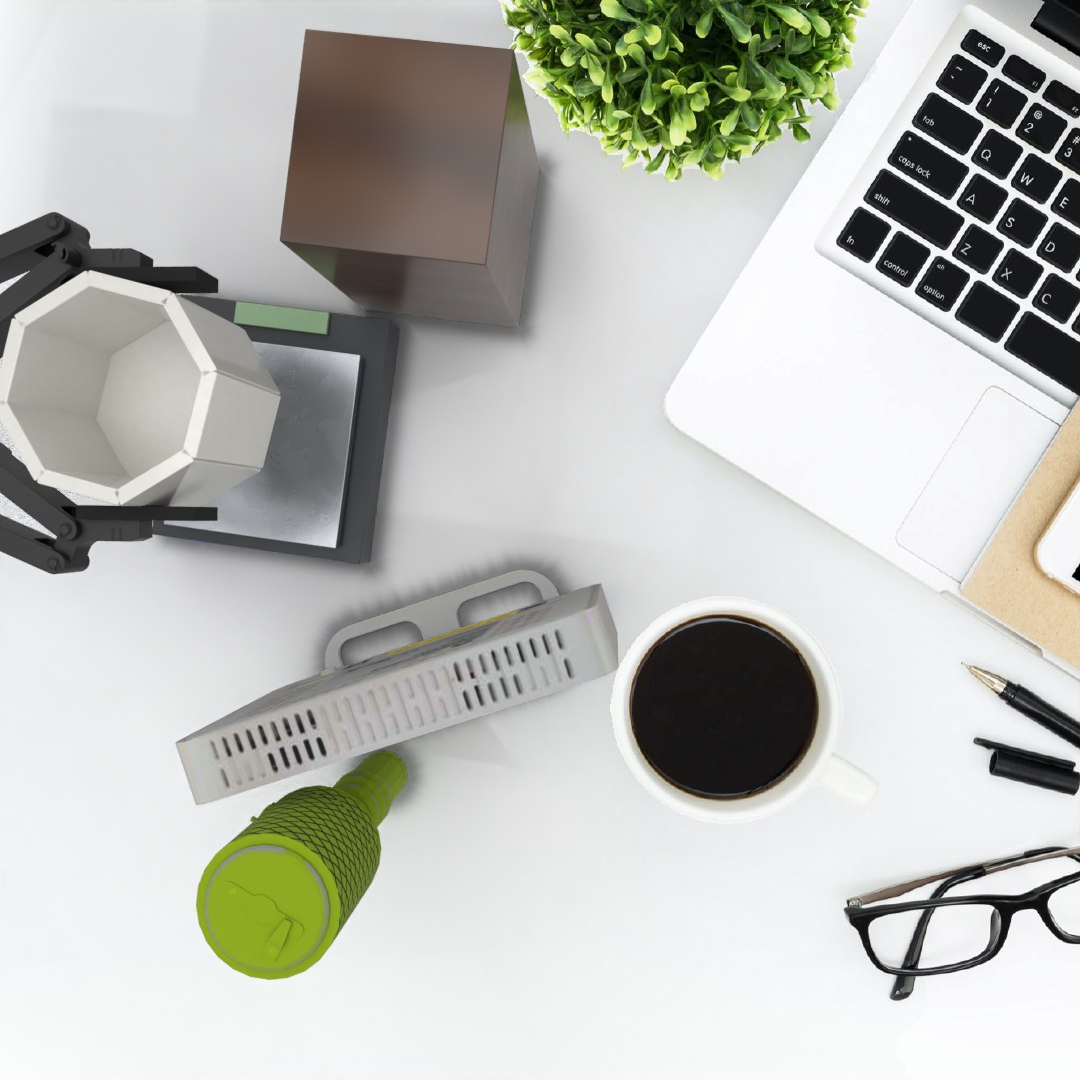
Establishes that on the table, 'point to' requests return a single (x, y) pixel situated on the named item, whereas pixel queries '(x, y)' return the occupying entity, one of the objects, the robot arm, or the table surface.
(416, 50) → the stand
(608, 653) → the network device
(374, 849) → the microphone
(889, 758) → the table surface
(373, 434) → the scale
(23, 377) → the cup
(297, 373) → the scale pan
